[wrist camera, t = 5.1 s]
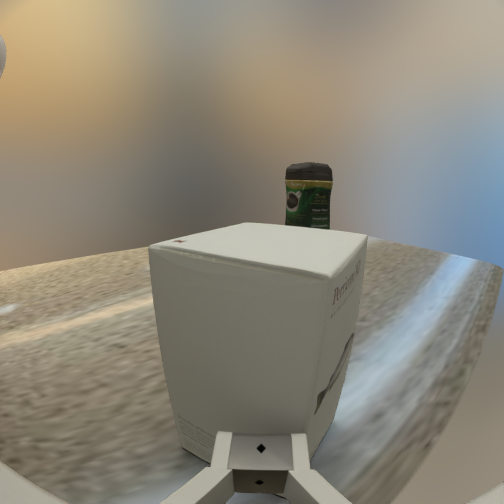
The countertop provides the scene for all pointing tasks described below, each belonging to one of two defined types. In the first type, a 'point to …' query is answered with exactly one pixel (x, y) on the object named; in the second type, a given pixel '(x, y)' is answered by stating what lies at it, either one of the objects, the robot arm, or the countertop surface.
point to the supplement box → (256, 328)
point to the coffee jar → (308, 195)
